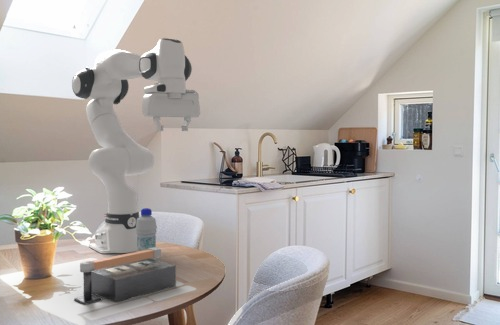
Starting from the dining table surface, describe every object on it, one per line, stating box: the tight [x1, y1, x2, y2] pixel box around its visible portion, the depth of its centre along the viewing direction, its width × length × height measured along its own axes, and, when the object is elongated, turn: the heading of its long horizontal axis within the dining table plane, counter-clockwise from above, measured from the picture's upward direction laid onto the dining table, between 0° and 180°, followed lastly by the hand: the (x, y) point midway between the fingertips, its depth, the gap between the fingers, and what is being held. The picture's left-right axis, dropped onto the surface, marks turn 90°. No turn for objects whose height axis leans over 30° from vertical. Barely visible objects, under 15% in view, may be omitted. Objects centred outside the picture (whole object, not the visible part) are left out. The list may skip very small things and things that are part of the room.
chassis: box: [91, 258, 177, 303], centre depth 147 cm, size 14×20×6 cm
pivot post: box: [73, 272, 102, 306], centre depth 136 cm, size 5×5×8 cm
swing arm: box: [79, 246, 162, 273], centre depth 144 cm, size 25×4×2 cm, turn 137°
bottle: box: [136, 207, 158, 260], centre depth 167 cm, size 7×7×20 cm
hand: (172, 131), depth 169 cm, fingers open, 8 cm apart
